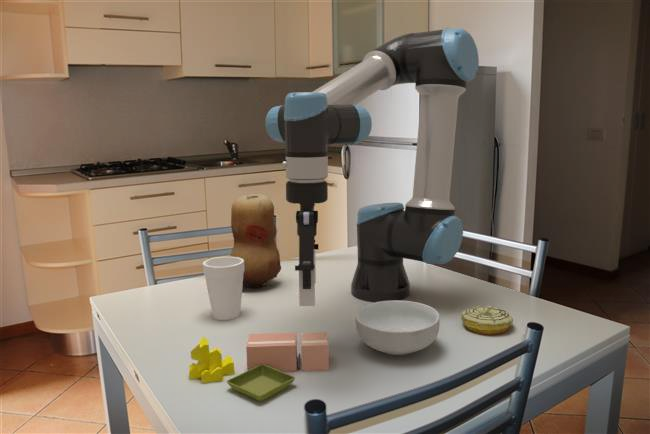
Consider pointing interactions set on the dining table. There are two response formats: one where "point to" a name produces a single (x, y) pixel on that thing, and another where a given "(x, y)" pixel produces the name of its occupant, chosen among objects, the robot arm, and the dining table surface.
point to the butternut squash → (255, 238)
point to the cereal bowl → (397, 326)
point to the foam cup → (224, 286)
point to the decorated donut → (486, 320)
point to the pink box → (314, 351)
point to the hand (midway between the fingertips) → (308, 293)
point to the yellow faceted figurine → (209, 363)
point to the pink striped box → (273, 351)
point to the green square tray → (261, 382)
